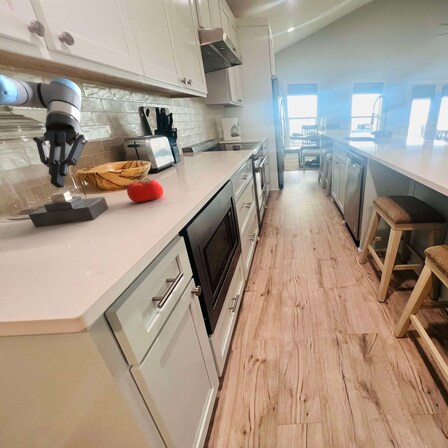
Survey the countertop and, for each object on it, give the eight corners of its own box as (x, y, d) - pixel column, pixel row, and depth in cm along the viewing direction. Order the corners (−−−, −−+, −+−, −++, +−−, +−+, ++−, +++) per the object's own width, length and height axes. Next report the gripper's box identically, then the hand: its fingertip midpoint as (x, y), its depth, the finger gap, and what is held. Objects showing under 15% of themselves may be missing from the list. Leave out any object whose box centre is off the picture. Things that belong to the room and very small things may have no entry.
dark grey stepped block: (35, 227, 67) (24, 207, 65) (58, 214, 77) (49, 196, 74) (94, 219, 71) (85, 200, 68) (108, 208, 80) (101, 190, 78)
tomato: (167, 199, 86) (162, 181, 84) (131, 206, 80) (125, 187, 78) (162, 193, 94) (157, 177, 91) (129, 200, 88) (123, 182, 85)
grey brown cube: (53, 204, 68) (49, 195, 67) (60, 200, 71) (56, 192, 70) (67, 202, 69) (63, 194, 68) (73, 199, 71) (69, 191, 70)
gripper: (94, 128, 81) (92, 188, 73) (47, 131, 78) (39, 194, 70) (80, 110, 74) (75, 174, 66) (27, 112, 71) (16, 180, 63)
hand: (57, 184), depth 68 cm, fingers closed
